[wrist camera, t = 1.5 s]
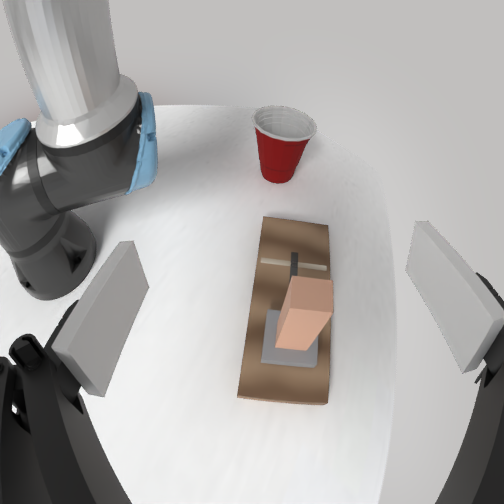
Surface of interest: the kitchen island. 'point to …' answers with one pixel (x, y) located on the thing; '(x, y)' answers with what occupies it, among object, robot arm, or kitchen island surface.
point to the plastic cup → (281, 140)
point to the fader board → (272, 297)
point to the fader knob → (298, 323)
